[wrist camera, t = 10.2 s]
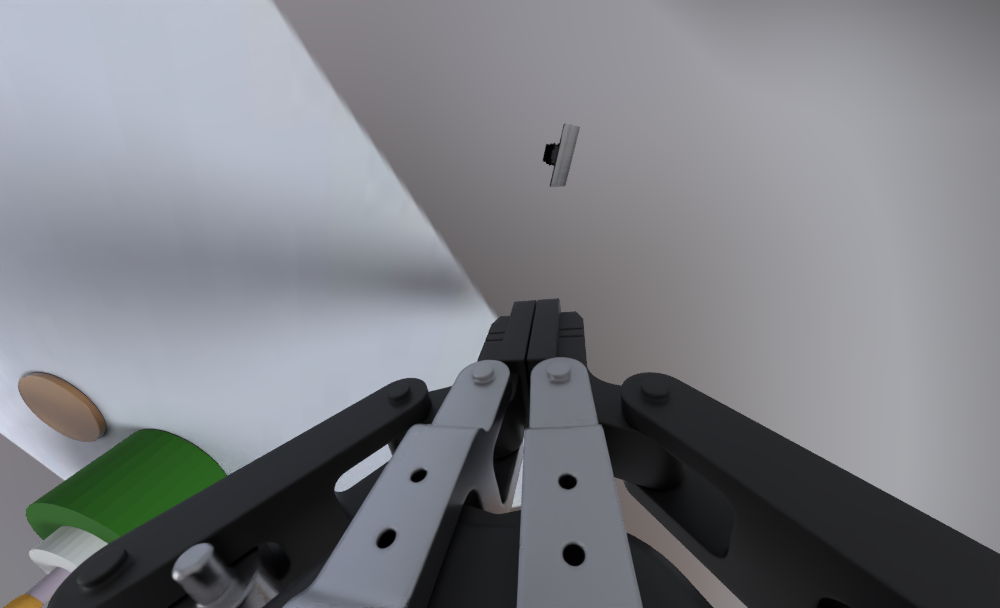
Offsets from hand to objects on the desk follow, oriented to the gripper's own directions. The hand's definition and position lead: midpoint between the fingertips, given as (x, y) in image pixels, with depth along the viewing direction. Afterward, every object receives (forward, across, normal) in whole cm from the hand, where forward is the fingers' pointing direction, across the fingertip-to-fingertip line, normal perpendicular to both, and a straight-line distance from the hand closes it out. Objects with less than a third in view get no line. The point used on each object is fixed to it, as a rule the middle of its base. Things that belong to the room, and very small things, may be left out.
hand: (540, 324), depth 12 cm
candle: (+3, +28, +12) cm, 31 cm away
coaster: (+3, +35, +6) cm, 35 cm away
